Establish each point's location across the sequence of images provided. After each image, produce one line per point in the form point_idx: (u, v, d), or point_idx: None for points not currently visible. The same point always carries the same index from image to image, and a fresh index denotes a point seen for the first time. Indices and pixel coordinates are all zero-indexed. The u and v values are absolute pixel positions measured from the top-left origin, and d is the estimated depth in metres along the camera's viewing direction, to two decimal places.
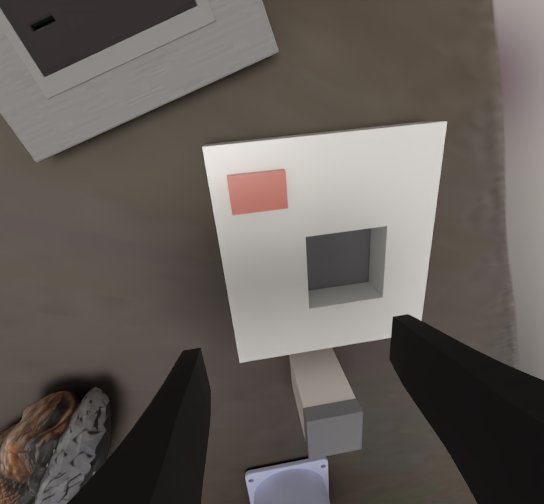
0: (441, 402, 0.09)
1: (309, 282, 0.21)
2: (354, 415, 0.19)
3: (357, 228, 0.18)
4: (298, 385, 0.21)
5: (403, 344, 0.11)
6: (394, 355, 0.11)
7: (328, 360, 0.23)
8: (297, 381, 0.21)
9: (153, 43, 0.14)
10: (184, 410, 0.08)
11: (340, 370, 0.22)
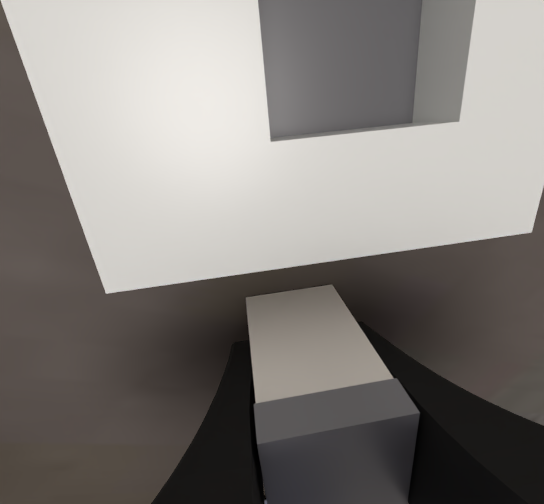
0: None
1: (278, 114, 0.09)
2: (396, 423, 0.07)
3: None
4: (253, 351, 0.09)
5: None
6: None
7: (324, 304, 0.11)
8: (252, 343, 0.09)
9: None
10: (251, 398, 0.08)
11: (350, 321, 0.10)
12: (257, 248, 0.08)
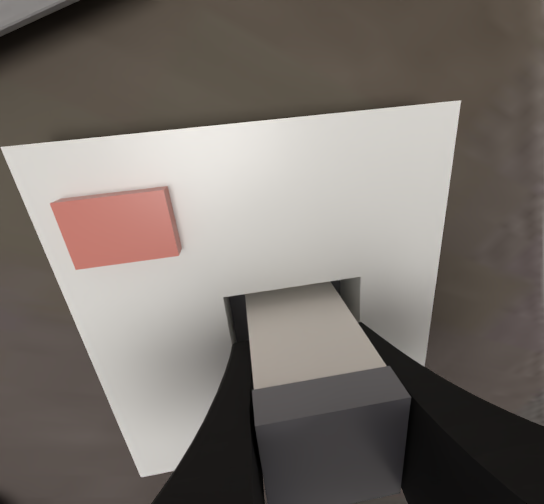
0: None
1: None
2: (389, 408, 0.07)
3: (310, 281, 0.11)
4: (251, 342, 0.09)
5: None
6: None
7: (321, 298, 0.11)
8: (251, 335, 0.10)
9: None
10: (251, 398, 0.08)
11: (346, 313, 0.10)
12: None
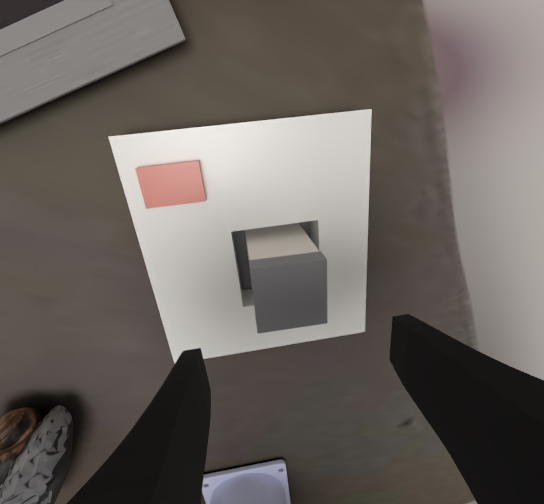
0: (441, 402, 0.09)
1: (249, 280, 0.21)
2: (316, 265, 0.14)
3: (286, 222, 0.17)
4: (248, 247, 0.16)
5: (403, 344, 0.11)
6: (394, 355, 0.11)
7: (292, 230, 0.18)
8: (248, 244, 0.17)
9: (46, 27, 0.13)
10: (184, 410, 0.08)
11: (305, 236, 0.17)
12: (239, 344, 0.20)
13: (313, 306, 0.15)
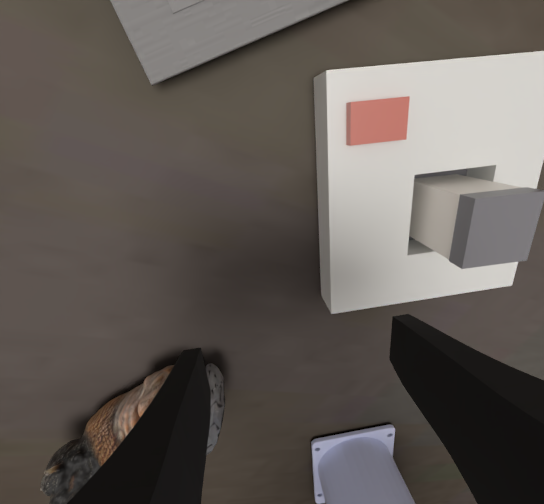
0: (441, 402, 0.09)
1: None
2: (535, 196, 0.14)
3: (466, 166, 0.17)
4: (437, 188, 0.16)
5: (403, 344, 0.11)
6: (394, 355, 0.11)
7: (460, 178, 0.18)
8: (433, 187, 0.17)
9: None
10: (184, 410, 0.08)
11: (483, 180, 0.17)
12: (394, 294, 0.20)
13: (519, 241, 0.15)
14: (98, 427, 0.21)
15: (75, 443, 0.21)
